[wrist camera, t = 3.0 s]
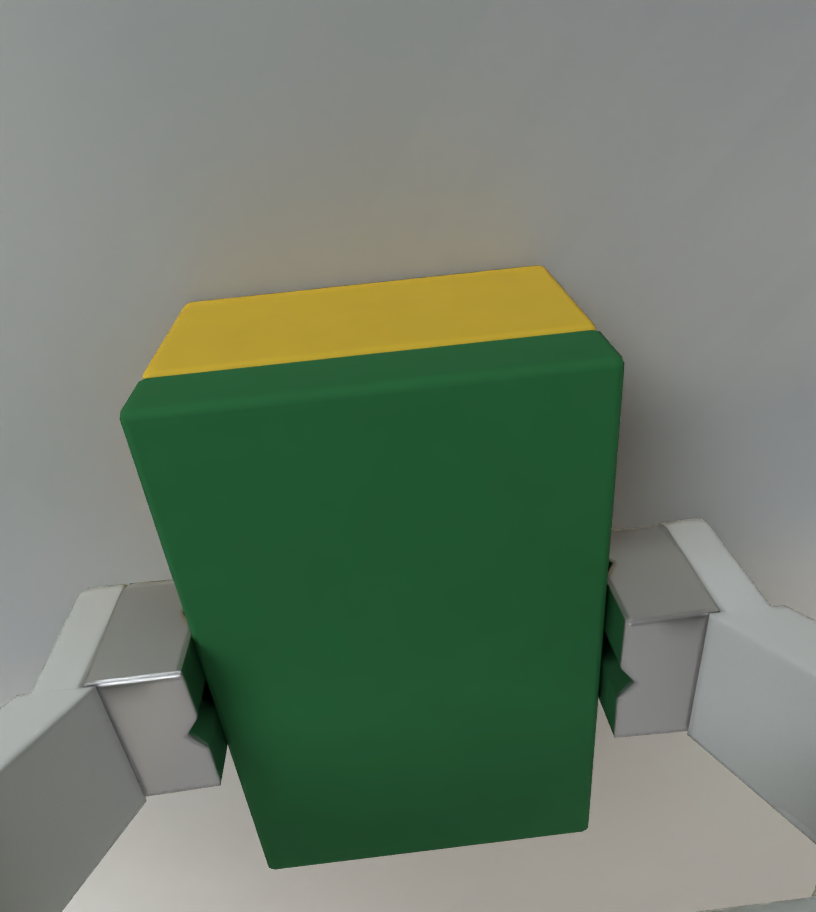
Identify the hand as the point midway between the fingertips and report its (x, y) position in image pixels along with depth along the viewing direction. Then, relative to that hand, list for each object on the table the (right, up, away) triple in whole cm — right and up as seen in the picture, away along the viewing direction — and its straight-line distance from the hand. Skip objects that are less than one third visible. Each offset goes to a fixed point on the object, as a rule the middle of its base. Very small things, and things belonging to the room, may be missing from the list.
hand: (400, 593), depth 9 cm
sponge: (0, +1, +2) cm, 2 cm away
